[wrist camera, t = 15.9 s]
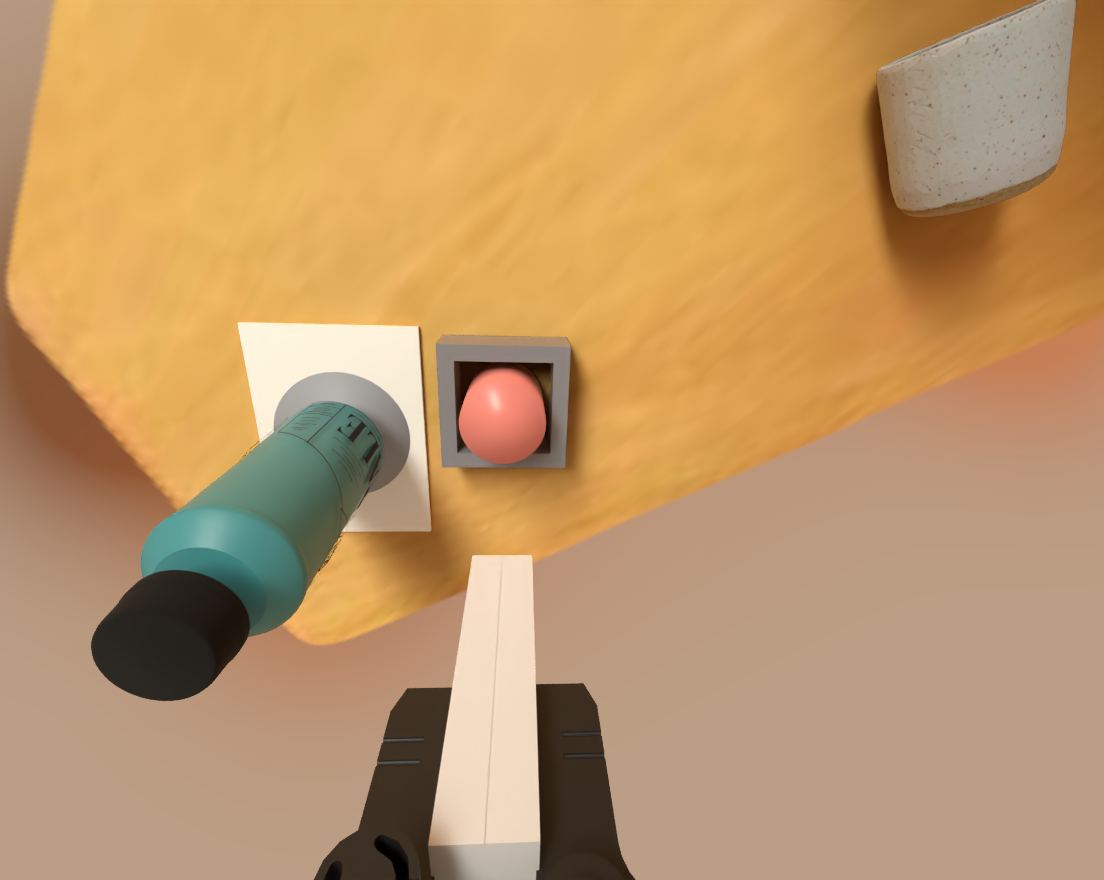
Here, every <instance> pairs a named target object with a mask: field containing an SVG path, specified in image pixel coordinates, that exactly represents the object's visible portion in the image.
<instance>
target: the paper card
mask: <svg viewBox="0 0 1104 880" xmlns="http://www.w3.org/2000/svg"><path fill="white" fill-rule="evenodd" d="M238 328H239V334H240V339H241V344H242V349H243V354H244V360H245V365H246V370H247V375H248V380H249V386H250V391H251V396H252V401H253V406H254V412H255V417H256V422H257V427H258V432H259V438H260V443H261V442H262V441H264V439H266V438H267V437H268V436H270V434H272V433H273V432H274V431H276V430H277V429H278V428H279V427H280V425H281V426H282V425H283V424H284V423H285V422H286V421H288V420H289V419H290V418H291V417H292V416H294V415H295V414H296V413H297V412H299V411H300V410H301V409H303V408H305V407H307V406H309V405H312V404H316V403H320V402H318V401H321V402H330V401H333V402H339V403H343V404H347V405H350V406H352V407H354V408H356V409H358V410H360V411H361V412H363V413H364V414H365V415H366V416H367V417H368V418H369V419H371V421H372V422H373V423H374V424H375V426H376V428H377V429H378V431H379V433H380V436H381V438H382V439H381V440H382V441H383V442H382V445H384V447H383V458H382V459H383V460H382V462H381V465H380V467H379V469H381V470H379V469H378V470H379V472H378V473H377V474H376V476H375V477H374V478H373V480H372V481H371V483H370V485H369V488H370V489H369V488H367V489H369V491H368V492H367V493H368V494H367V495H366V497H364V495H365V493H366V492H365V493H364V495H363V497H364V499H363V501H362V503H361V504H360V506H359V508H358V509H357V510H356V509H355V510H356V511H355V510H354V512H353V514H352V515H351V517H352V518H351V517H350V520H351V519H352V520H351V521H350V520H349V521H350V522H349V521H348V522H349V523H348V527H347V526H345V527H344V529H343V531H342V532H383V531H431V513H430V497H429V481H428V465H427V449H426V433H425V417H424V401H423V386H422V370H421V354H420V338H419V326H381V325H338V324H295V323H253V322H239V323H238ZM314 402H315V403H314ZM284 420H285V421H284ZM279 424H280V425H279ZM278 425H279V426H278ZM273 429H274V430H273ZM275 429H276V430H275ZM270 432H271V433H270ZM268 433H269V434H268ZM267 434H268V435H267ZM262 438H263V439H262ZM261 439H262V440H261ZM383 461H384V462H383ZM382 465H383V466H382ZM377 475H378V476H377ZM376 477H377V478H376ZM375 479H376V480H375ZM374 481H375V482H374ZM371 484H372V486H371ZM363 497H362V498H363ZM362 498H361V500H362ZM361 500H360V502H361ZM360 502H359V503H360ZM358 505H359V504H358ZM358 505H357V507H358ZM357 507H356V508H357ZM354 513H356V514H355V516H354ZM346 525H347V524H346ZM346 529H347V530H346Z"/></svg>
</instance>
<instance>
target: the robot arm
mask: <svg viewBox="0 0 1104 880" xmlns="http://www.w3.org/2000/svg"><path fill="white" fill-rule="evenodd" d="M532 571H533V570H532V555H473V556H472V562H471V569H470V575H469V582H468V588H467V595H466V602H465V608H464V615H463V621H462V628H461V635H460V641H459V647H458V654H457V660H456V667H455V673H454V680H453V686H452V688H410V689H409V688H408V689H407V690H406V691H405V693H404V694H403V696H402V697H401V698H400V699H399V701H398V702H397V704H396V705H395V706H394V708H393V709H392V710H391V712H390V716H389V720H388V723H387V727H386V730H385V734H384V738H383V743H382V745H381V749H380V752H379V756H378V760H377V766H376V767H375V771H374V774H373V778H372V782H371V785H370V790H369V793H368V797H367V801H366V804H365V808H364V811H363V816H362V818H361V822H360V826H359V830H358V831H356V832H355V833H353V834H351V835H350V836H348V837H347V838H345V839H343V840H342V841H340V842H339V843H338V845H337V846H336V847H335V848H334V849H333V850H332V851H331V852H330V854H329V855H328V856H327V857H326V858H325V859H324V860H323V862H322V864H321V866H320V868H319V871H318V873H317V874H316V877H315V879H314V880H635V878H634V877H633V876H632V875H631V873H630V872H629V870H628V868H627V866H626V864H625V862H624V860H623V858H622V855H621V851H620V848H619V844H618V838H617V832H616V826H615V819H614V813H613V806H612V799H611V793H610V787H609V780H608V774H607V767H606V761H605V758H604V748H603V741H602V736H601V729H600V722H599V716H598V709H597V705H596V703H595V701H594V700H593V698H592V697H591V695H590V693H589V692H588V690H587V689H586V687H585V685H584V684H583V683H582V684H581V683H580V684H536V678H535V677H536V674H535V640H534V606H533V572H532Z"/></svg>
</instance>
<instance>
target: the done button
mask: <svg viewBox="0 0 1104 880" xmlns="http://www.w3.org/2000/svg"><path fill="white" fill-rule="evenodd" d="M459 430H460V434H461V436H462V439H463V441H464V443H465V444H466V446H467V447H468V448H469V449H470V450H471V451H472V452H473V453H474V454H475V455H476V456H478V457H480V458H481V459H483V460H486V461H489V462H492V463H497V464H509V463H514V462H518V461H520V460H523V459H525V458H526V457H528V456H529V455H531V454H532V453H533V452H534V451H535V450H536V449H537V448H538V447H539V445H540V444H541V442H542V440H543V437H544V435H545V431H546V416H545V409H544V402H543V395H542V390H541V386H540V384H539V382H538V380H537V379H536V377H535V376H534V375H533V373H532V372H530V371H529V370H528V369H527V368H525V367H523V366H521V365H519V364H517V363H513V362H495V363H492V364H489V365H487V366H485V367H484V368H482V369H481V370H480V371H478V372H477V373H476V375H475V376H474V377H473V379H472V380H471V382H470V384H469V387H468V390H467V393H466V396H465V399H464V402H463V405H462V408H461V411H460V416H459Z"/></svg>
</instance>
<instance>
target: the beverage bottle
mask: <svg viewBox="0 0 1104 880" xmlns="http://www.w3.org/2000/svg"><path fill="white" fill-rule="evenodd" d="M318 402H320V403H316V404H312V405H309V406H307V407H305V408H303V409H301V410H300V411H299V412H297V413H296V414H295V415H294V416H292V417H291V418H290V419H289V420H288V421H286V422H285V423H284V424H283V425H282V426H281V425H280V424H279V425H280V427H279V428H278V429H277V430H276V429H275V430H276V431H274V432H273V433H272V434H270V436H268V437H267V438H266V439H264V441H262V442H261V443H260V444H259V445H258V446H256V447H255V448H254V449H253V450H252V451H250V452H249V454H248V455H247V456H246V457H244V458H243V459H242V458H241V459H242V460H241V461H239V462H238V463H237V464H236V465H234V466H233V467H232V468H231V469H229V470H228V471H227V472H226V473H225V474H223V475H222V476H221V477H220V478H218V479H217V480H216V481H215V482H213V483H212V484H211V485H210V486H208V487H207V488H206V489H205V490H203V491H202V492H201V493H200V494H198V495H197V496H196V497H195V498H193V499H192V500H191V501H190V502H188V503H187V504H186V505H185V506H183V507H182V508H181V509H180V510H178V511H177V512H175V513H174V514H172V515H170V516H168V517H167V518H166V519H164V520H163V521H162V522H161V523H159V524H158V525H157V526H156V527H155V528H154V529H153V530H152V532H151V533H150V534H149V536H148V538H147V540H146V542H145V544H144V547H143V550H142V554H141V572H142V576H143V579H141V580H140V581H138V582H137V583H136V584H135V585H134V586H133V587H132V588H131V589H130V590H128V592H127V593H125V595H124V596H123V597H122V598H121V600H120V601H119V603H118V604H117V605H116V607H114V609H113V610H112V611H111V612H110V613H109V614H108V615H107V616H106V617H105V618H104V619H103V620H102V621H101V623H100V624H99V625H98V627H97V629H96V631H95V633H94V635H93V638H92V642H91V650H92V656H93V659H94V661H95V663H96V665H97V667H98V668H99V670H100V671H101V672H102V674H103V675H104V676H105V677H106V678H107V679H108V680H109V681H111V682H112V683H113V684H114V685H116V686H117V687H119V688H121V689H122V690H124V691H126V692H128V693H131V694H133V695H136V696H139V697H142V698H146V699H151V700H158V701H174V700H181V699H185V698H188V697H191V696H194V695H196V694H198V693H200V692H201V691H202V690H204V689H205V688H207V687H208V686H209V685H210V684H212V682H213V681H214V680H215V679H216V678H217V676H218V675H219V674H220V673H221V671H222V670H223V669H224V668H225V666H226V665H227V664H228V663H229V662H230V661H231V660H232V659H233V658H234V657H235V656H236V655H237V653H238V652H239V651H240V649H241V648H242V646H243V645H244V643H245V641H246V640H247V637H250V636H254V635H259V634H262V633H266V632H268V631H271V630H273V629H275V628H277V627H278V626H280V625H282V624H283V623H284V622H286V621H287V620H288V619H289V618H290V617H291V616H292V615H293V614H294V613H295V612H296V611H297V609H298V608H299V606H300V605H301V603H302V601H303V599H304V597H305V594H306V591H307V589H308V588H309V586H310V584H311V582H312V581H313V579H314V577H315V575H316V574H317V572H319V571H320V570H321V569H322V568H323V567H322V565H323V563H324V561H325V560H326V558H327V556H328V555H330V554H329V553H330V551H331V549H332V548H333V546H334V544H335V543H337V542H336V541H337V540H338V538H340V537H341V536H340V534H341V532H342V531H343V529H344V527H345V526H347V527H348V523H349V522H350V521H351V520H352V519H351V520H350V517H351V515H352V514H353V512H354V510H355V509H356V510H357V509H358V508H359V506H360V504H361V503H362V501H363V499H364V497H366V495H367V494H368V493H367V492H368V491H369V489H370V488H369V485H370V483H371V481H372V480H373V478H374V477H375V476H376V474H377V473H378V472H379V470H381V469H379V467H380V465H381V462H382V460H383V459H382V458H383V447H384V445H382V442H383V441H382V440H381V439H382V438H381V436H380V433H379V431H378V429H377V428H376V426H375V424H374V423H373V422H372V421H371V419H369V418H368V417H367V416H366V415H365V414H364V413H363V412H361V411H360V410H358V409H356V408H354V407H352V406H350V405H347V404H343V403H339V402H333V401H330V402H321V401H318ZM314 403H315V402H314ZM284 421H285V420H284ZM279 425H278V426H279ZM273 430H274V429H273ZM270 433H271V432H270ZM268 434H269V433H268ZM268 434H267V435H268ZM262 439H263V438H262ZM262 439H261V440H262ZM257 443H258V442H257ZM257 443H256V444H257ZM251 448H252V447H251ZM251 448H250V449H251ZM245 454H246V453H245ZM383 462H384V461H383ZM382 466H383V465H382ZM378 469H379V470H378ZM377 476H378V475H377ZM376 478H377V477H376ZM375 480H376V479H375ZM374 482H375V481H374ZM371 486H372V484H371ZM367 488H369V489H367ZM365 492H366V493H365ZM364 493H365V495H364ZM363 495H364V497H363ZM362 497H363V498H362ZM361 498H362V500H361ZM360 500H361V502H360ZM359 502H360V503H359ZM358 504H359V505H358ZM357 505H358V507H357ZM356 507H357V508H356ZM356 510H355V511H356ZM355 514H356V513H354V516H355ZM351 518H352V517H351ZM349 520H350V521H349ZM348 521H349V522H348ZM346 524H347V525H346ZM346 530H347V529H346ZM343 535H344V534H343ZM339 536H340V537H339ZM340 541H341V539H340ZM340 541H339V542H340ZM337 544H338V543H337ZM337 544H336V545H335V546H337ZM335 546H334V547H335ZM336 548H337V547H336ZM336 548H334V549H336ZM332 550H333V549H332ZM333 551H334V550H333ZM331 552H332V551H331ZM333 553H334V552H333ZM331 556H332V555H331ZM331 556H330V558H331ZM328 557H329V556H328ZM330 558H328V559H329V560H330ZM329 560H326V561H329ZM326 561H325V563H324V564H327V563H326ZM324 566H325V565H324ZM321 567H322V568H321ZM320 568H321V569H320ZM316 579H317V578H316Z"/></svg>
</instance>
